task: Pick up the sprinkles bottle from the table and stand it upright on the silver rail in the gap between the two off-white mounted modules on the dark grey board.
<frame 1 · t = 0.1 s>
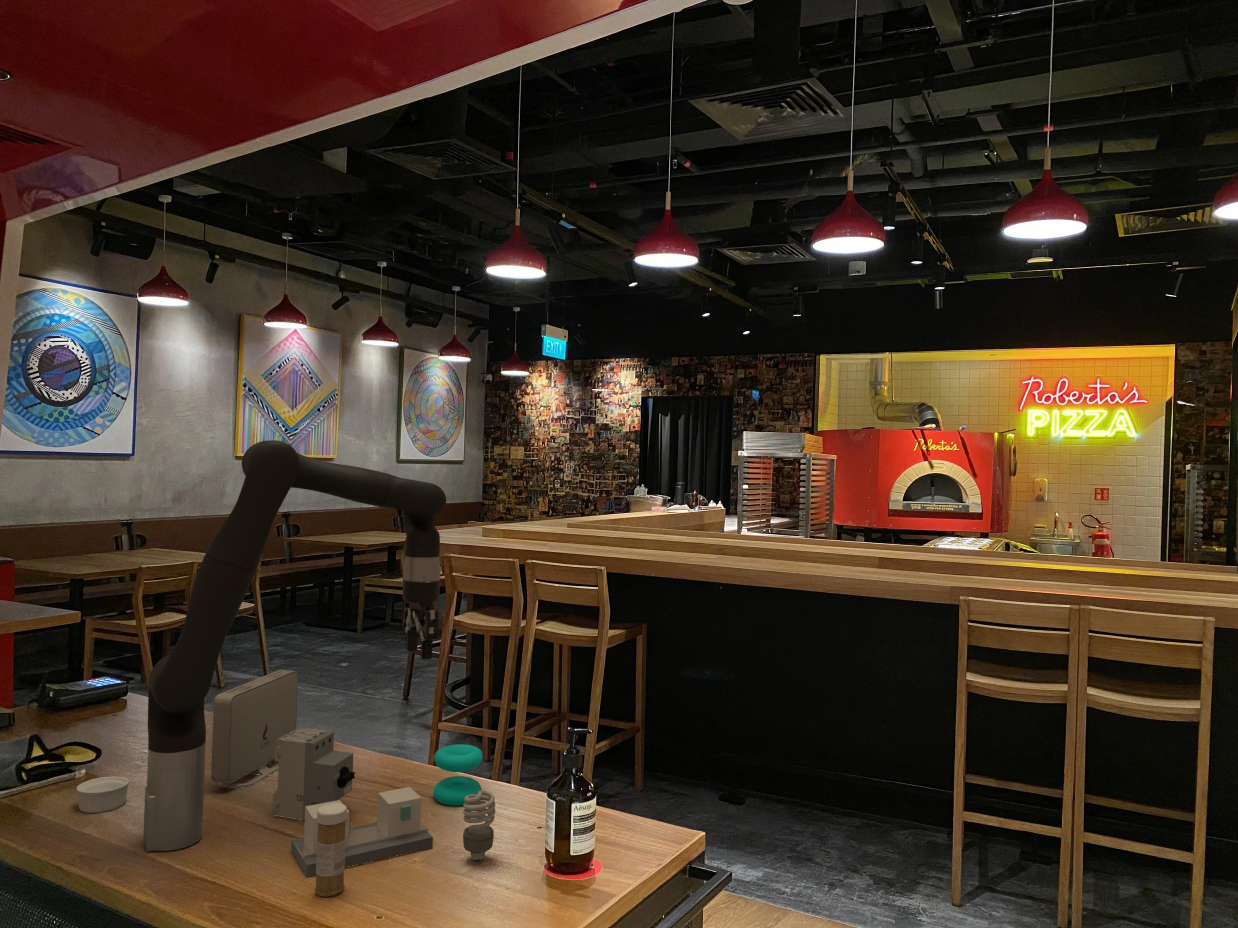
hand: (418, 654, 178), 29 cm above the table, tool pointing down, fingers open, 8 cm apart
sprinkles bottle: (329, 892, 137), on the table
donuts: (457, 798, 177), on the table
mounted modules: (364, 819, 152), on the din rail, point 6 cm above the table
light bulb: (477, 861, 149), on the table
network device: (254, 772, 188), on the table
mounting board: (362, 849, 152), on the table
ramekin: (102, 806, 167), on the table
circuit breaker: (316, 814, 167), on the table
din rail: (362, 836, 152), on the mounting board, point 2 cm above the table
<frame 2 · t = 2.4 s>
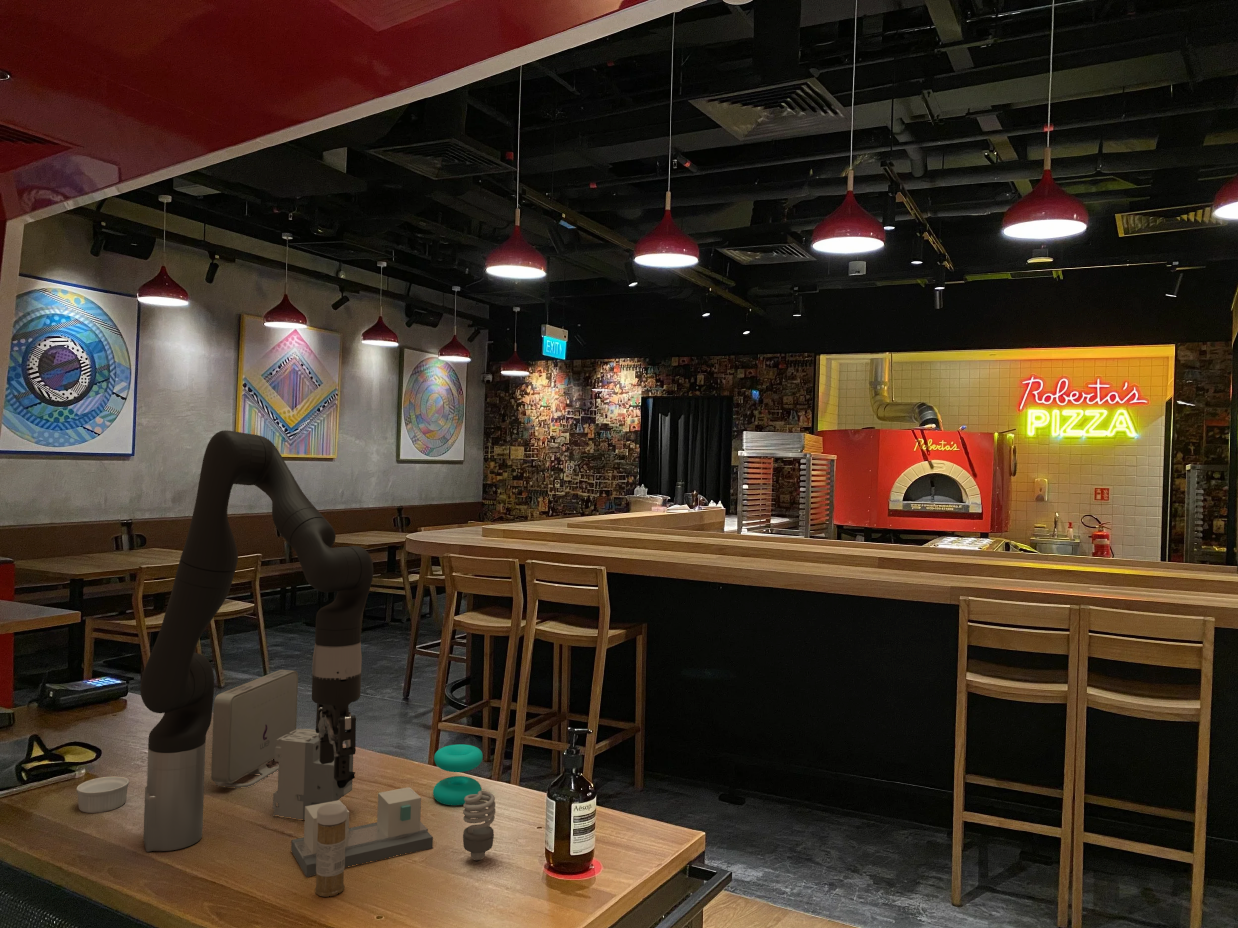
hand: (333, 770, 137), 19 cm above the table, tool pointing down, fingers open, 8 cm apart
nothing on the table moved.
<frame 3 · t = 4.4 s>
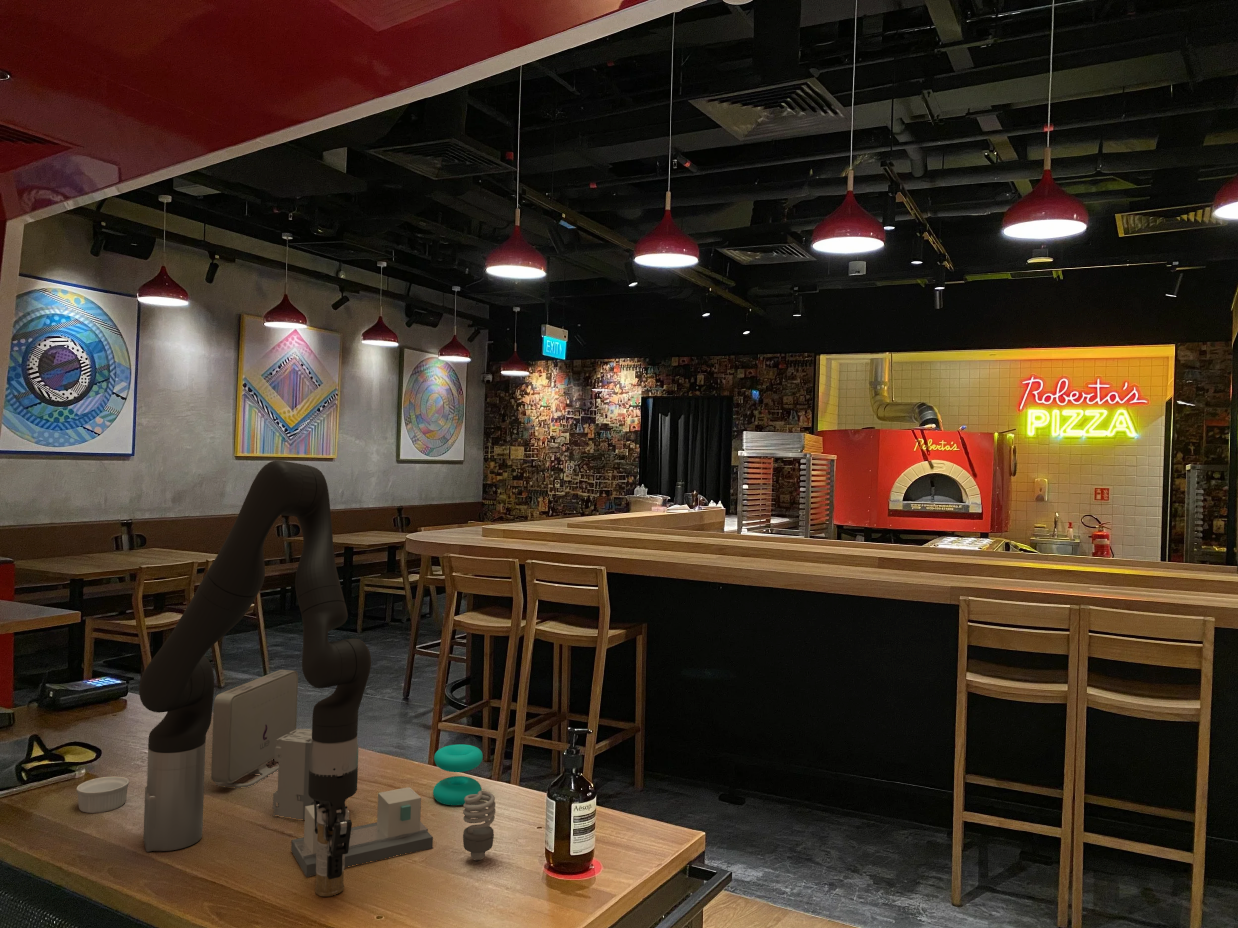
hand: (330, 870, 137), 3 cm above the table, tool pointing down, fingers closed on sprinkles bottle, 4 cm apart
sprinkles bottle: (329, 891, 137), on the table, touching gripper
everything else where it was.
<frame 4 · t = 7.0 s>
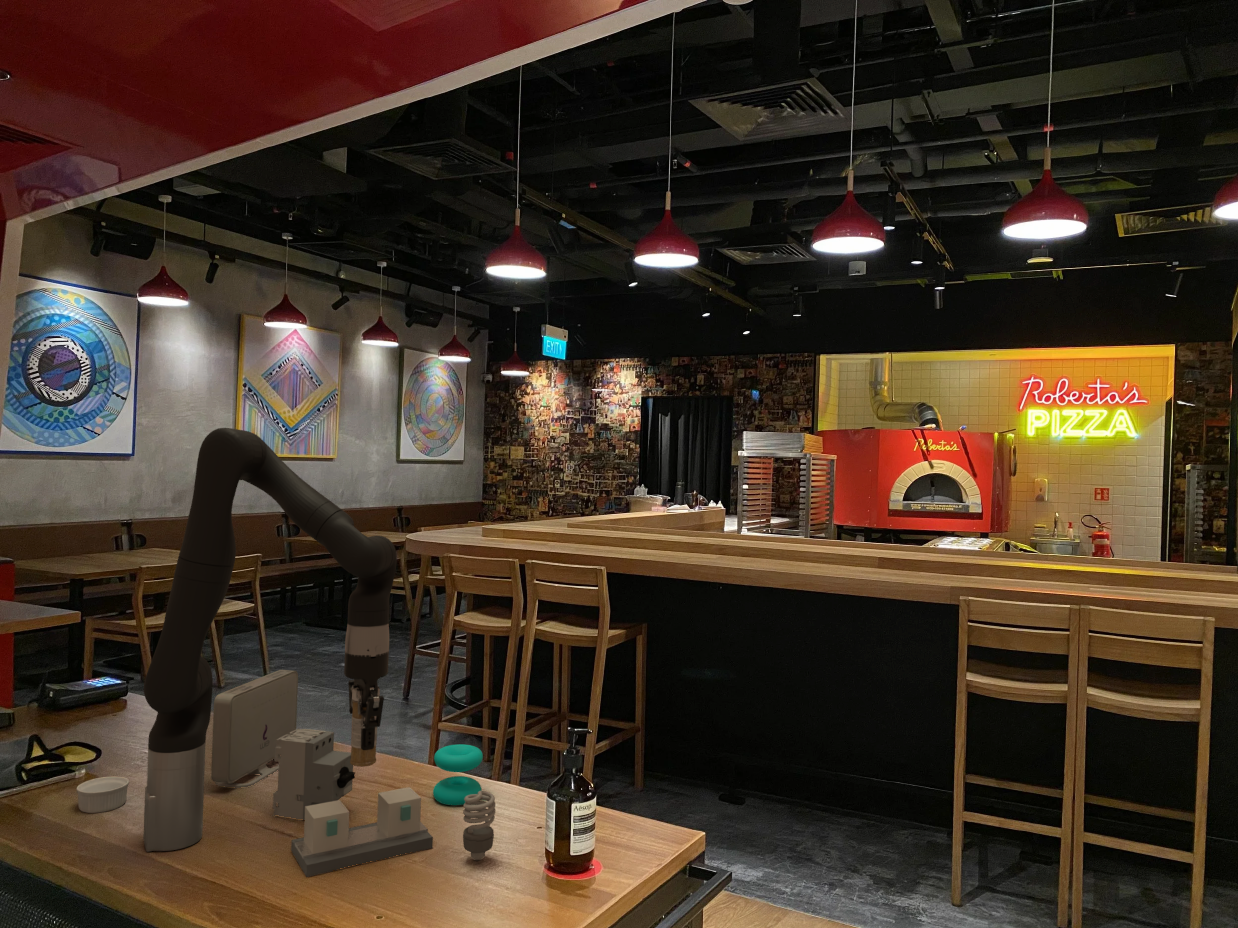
hand: (363, 744, 151), 19 cm above the table, tool pointing down, fingers closed on sprinkles bottle, 4 cm apart
sprinkles bottle: (362, 764, 151), point 16 cm above the table, touching gripper
everything else where it was.
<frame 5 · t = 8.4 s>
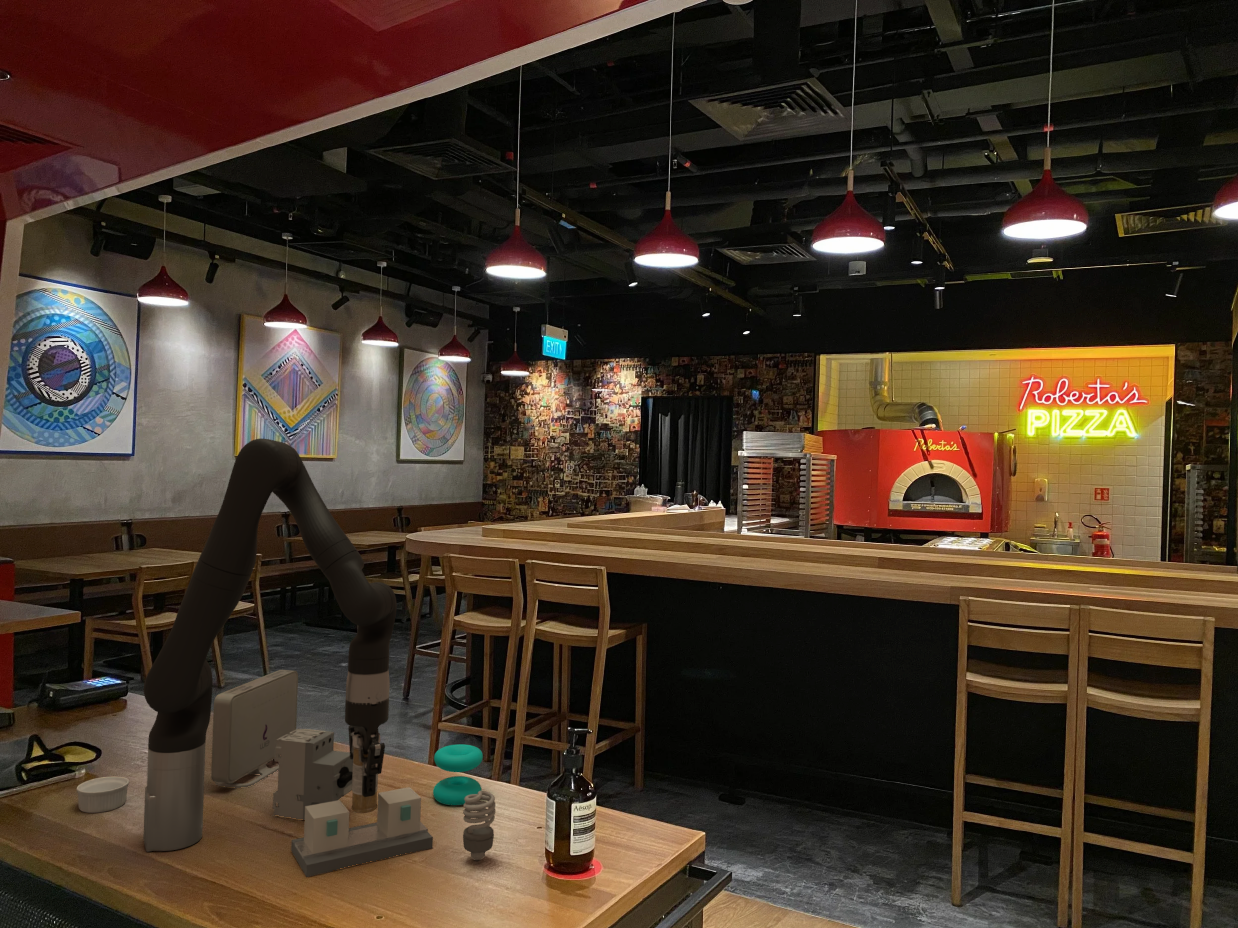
hand: (364, 790, 152), 11 cm above the table, tool pointing down, fingers closed on sprinkles bottle, 4 cm apart
sprinkles bottle: (364, 810, 152), point 7 cm above the table, touching gripper
everything else where it was.
when the fingers open (7 cm above the table, at t = 9.4 s): sprinkles bottle drops 1 cm, resting on din rail.
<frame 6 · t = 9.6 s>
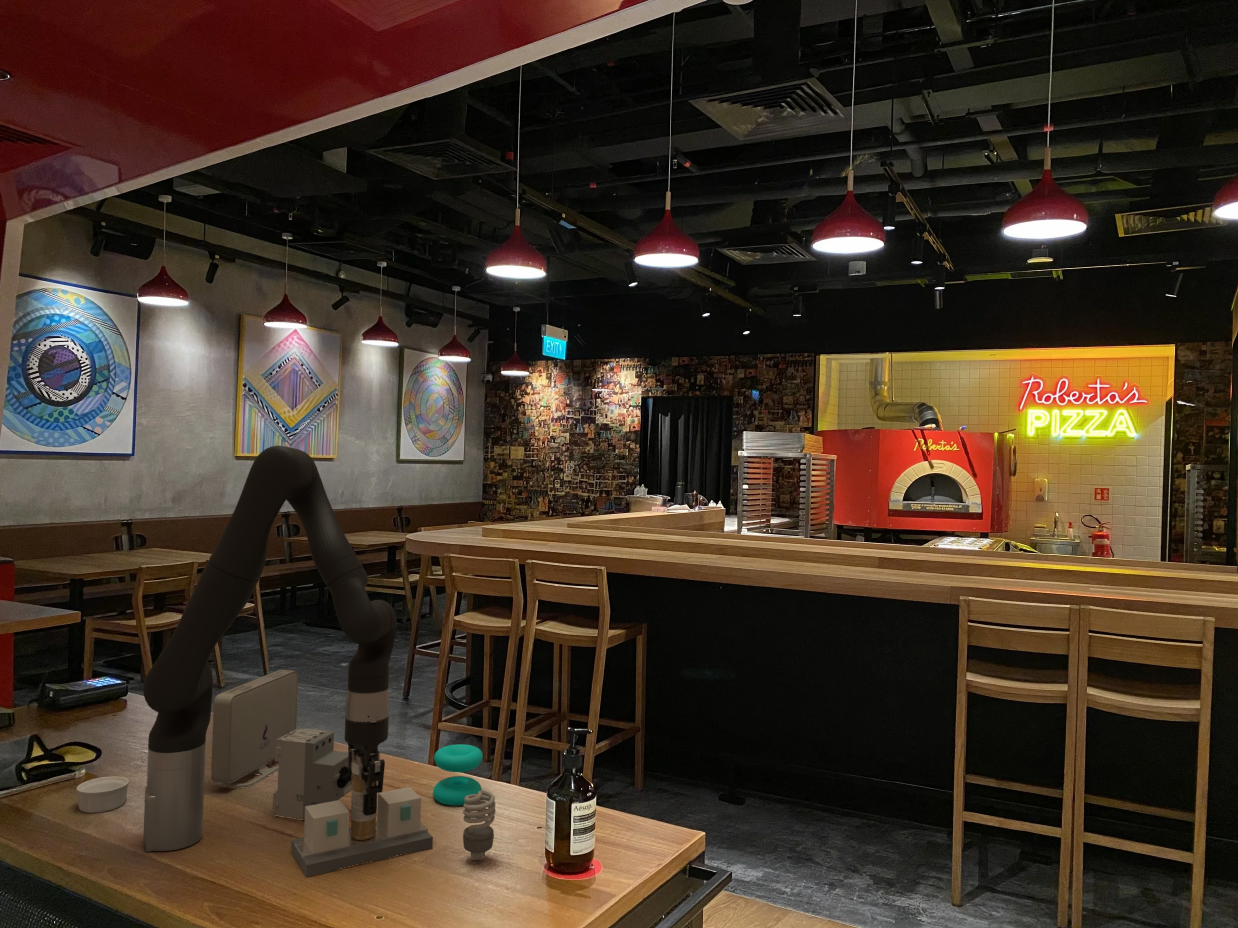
hand: (363, 807, 152), 8 cm above the table, tool pointing down, fingers open, 6 cm apart
sprinkles bottle: (363, 836, 152), point 2 cm above the table, touching din rail
everything else where it was.
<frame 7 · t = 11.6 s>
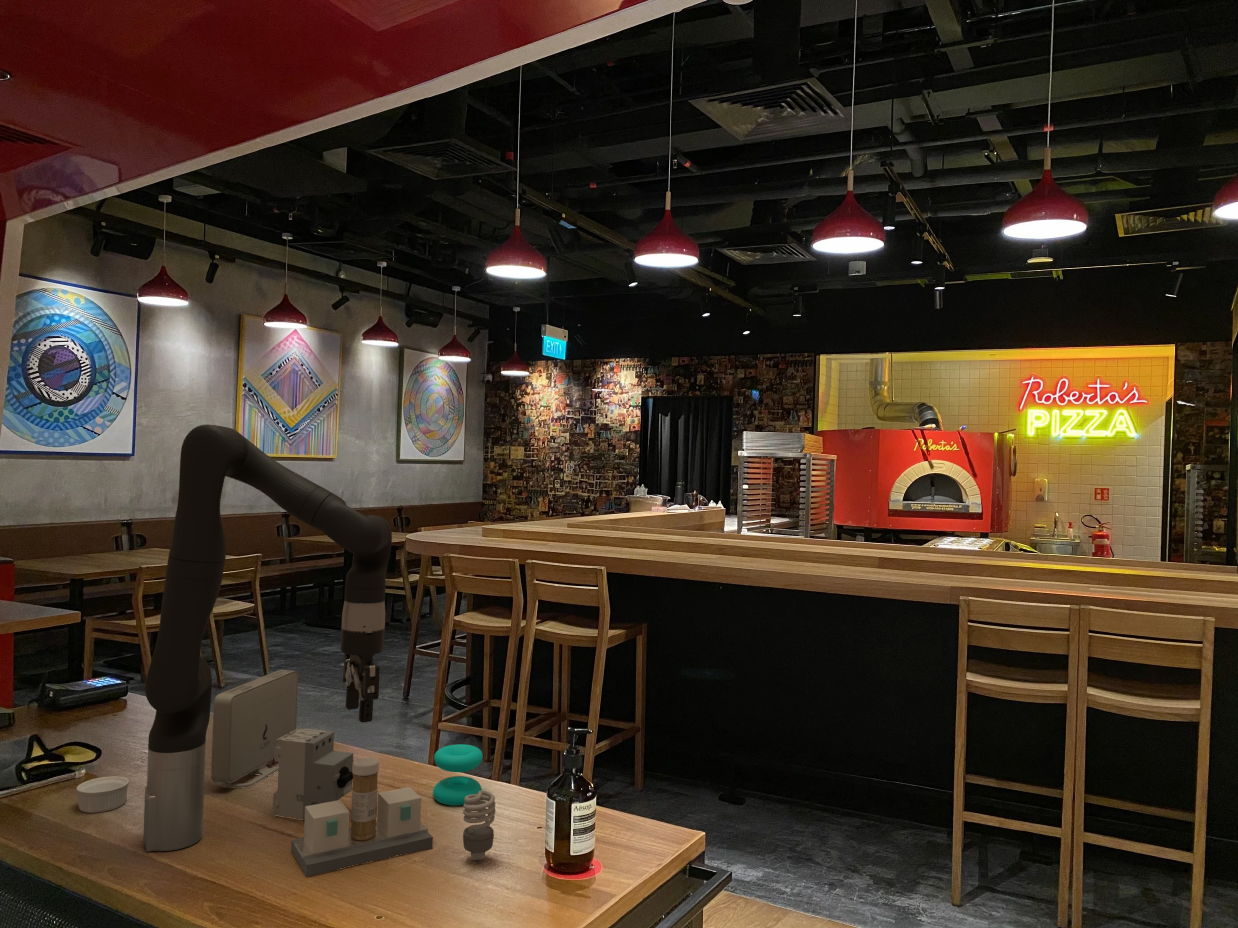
hand: (358, 715, 154), 23 cm above the table, tool pointing down, fingers open, 8 cm apart
nothing on the table moved.
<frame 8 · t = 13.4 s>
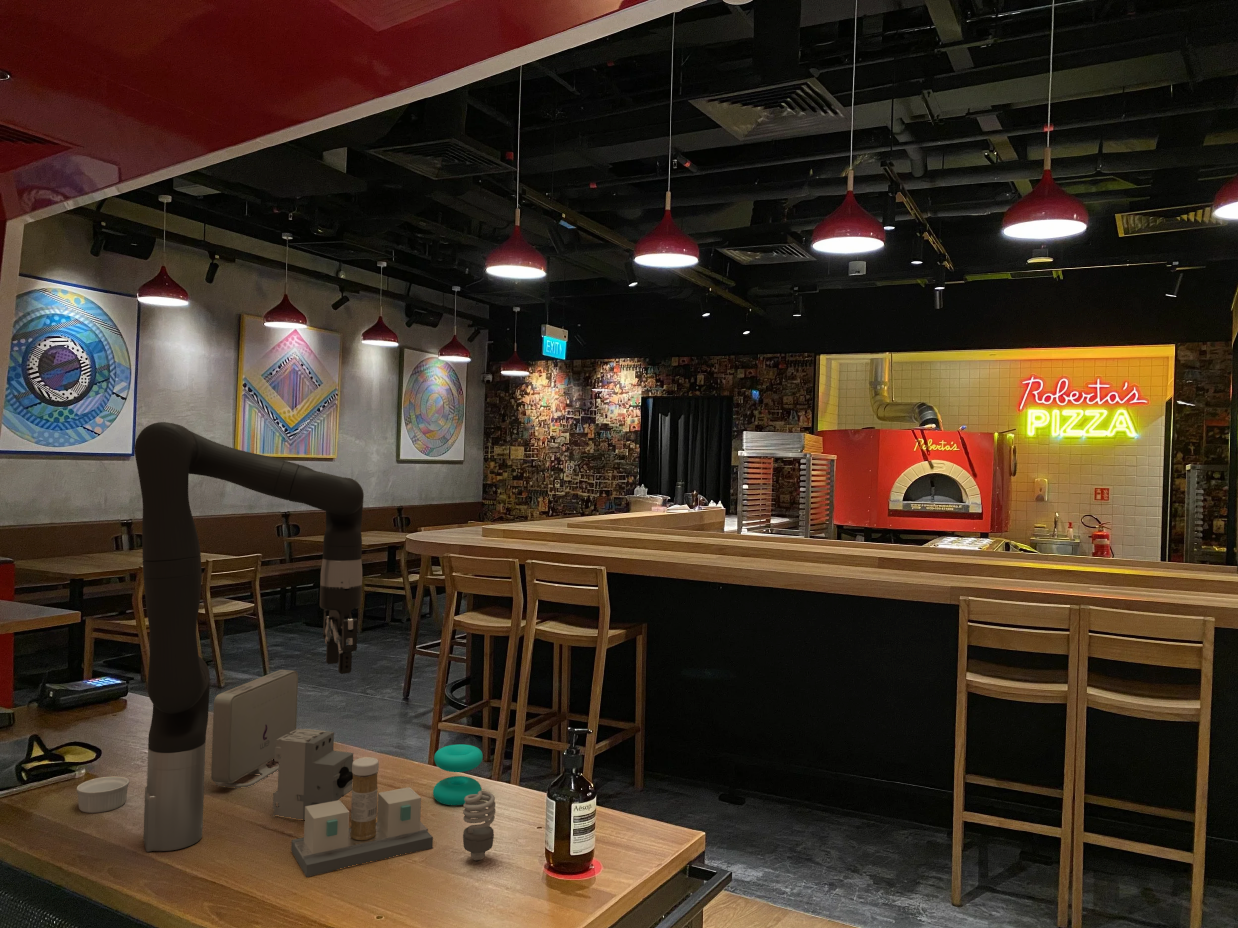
hand: (338, 668, 161), 30 cm above the table, tool pointing down, fingers open, 8 cm apart
nothing on the table moved.
at the end: sprinkles bottle 0.1 cm off-centre on the mounted modules, point 2.3 cm above the mounted modules's base; sprinkles bottle tilted 0°; the gripper is holding nothing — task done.
